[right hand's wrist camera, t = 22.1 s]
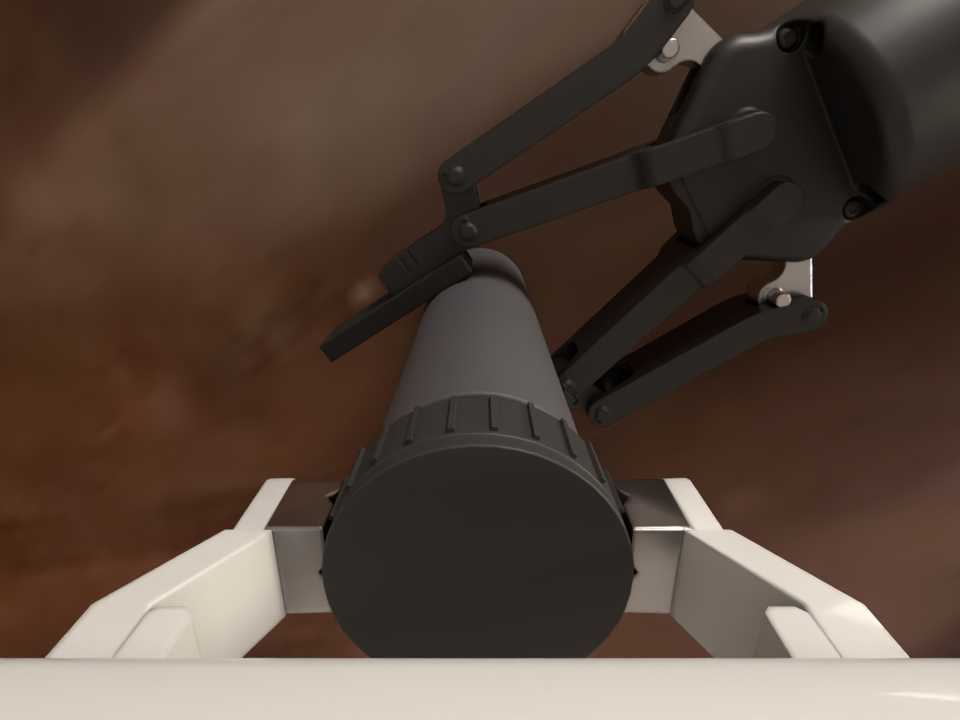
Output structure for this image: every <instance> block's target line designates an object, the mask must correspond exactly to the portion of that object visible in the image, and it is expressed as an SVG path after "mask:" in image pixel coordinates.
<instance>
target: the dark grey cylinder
mask: <svg viewBox="0 0 960 720" xmlns="http://www.w3.org/2000/svg"><path fill="white" fill-rule="evenodd" d="M467 251H468V253H469V255H470V256H471V258H472V259H473V262H472V273H471V274H469V275H467V276H466V277H464V278H463V279H461V280H460V281H458V282H456V283H455V284H453V285H452V286H450V287H449V288H447V289H445V290H444V291H442V292H441V293H439V294H438V295H436V296H435V297H433V298H431V299H430V300H428V303H427V305H426V308H425V311H424V314H423V316H422V319H421V322H420V324H419V327H418V330H417V333H416V335H415V338H414V341H413V344H412V346H411V349H410V352H409V354H408V357H407V360H406V363H405V365H404V368H403V371H402V374H401V376H400V379H399V382H398V384H397V387H396V390H395V393H394V395H393V398H392V401H391V404H390V406H389V409H388V412H387V414H386V417H385V420H384V423H383V425H384V424H386V423H388V424H389V425H390V424H392V423H393V422H395V421H396V420H398V419H399V418H401V417H402V416H404V415H406V414H408V413H410V412H413V410H414V407H415V406H418V405H420V407H424V406H427V405H430V404H433V403H436V402H440V401H445V400H450V399H451V396H455V395H457V398H465V397H490V394H493V395H496V398H500V399H507V400H512V401H516V402H519V403H523V404H528V402H531V403H533V404H534V407H535V408H537V409H539V410H542V411H544V412H546V413H548V414H550V415H551V416H553V417H555V418H557V419H558V420H561V418H563V419H565V420H566V421H567V424H568V427H569V428H571V429H572V430H573V431H575V432H576V433H577V430H576V427H575V424H574V422H573V419H572V416H571V413H570V410H569V407H568V405H567V402H566V399H565V396H564V393H563V390H562V388H561V385H560V382H559V379H558V376H557V373H556V371H555V368H554V365H553V362H552V359H551V356H550V354H549V351H548V348H547V345H546V342H545V339H544V337H543V334H542V331H541V328H540V325H539V322H538V320H537V317H536V314H535V311H534V308H533V306H532V303H531V300H530V297H529V294H528V291H527V289H526V286H525V283H524V280H523V277H522V275H521V273H520V271H519V269H518V268H517V266H516V265H515V264H514V263H513V262H512V261H511V260H510V259H509V258H508V257H506V256H505V255H503V254H501V253H500V252H497V251H495V250H491V249H487V248H473V249H468V250H467ZM383 425H382V427H383ZM381 430H382V428H381ZM380 433H381V431H380ZM577 434H578V433H577Z"/></svg>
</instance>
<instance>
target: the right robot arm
mask: <svg viewBox="0 0 960 720" xmlns="http://www.w3.org/2000/svg"><path fill="white" fill-rule="evenodd" d="M344 480H345V479H304V478H297V479H294V478H271V479H269V480H266V481H265V483H264V484H263V486H262V487H261V489H260V490H259V492H258V493H257V495H256V496H255V498H254V499H253V501H252V502H251V504H250V505H249V507H248V508H247V510H246V511H245V513H244V514H243V516H242V517H241V519H240V520H239V522H238V523H237V525H236V526H235V527H234V529H233V530H224V531H222V532H220V533H218V534H217V535H215V536H213V537H211V538H209V539H208V540H206V541H204V542H202V543H201V544H199V545H197V546H195V547H193V548H192V549H190V550H188V551H186V552H184V553H183V554H181V555H179V556H177V557H175V558H174V559H172V560H170V561H168V562H166V563H165V564H163V565H161V566H159V567H158V568H156V569H154V570H152V571H150V572H149V573H147V574H145V575H143V576H141V577H140V578H138V579H136V580H134V581H132V582H131V583H129V584H127V585H125V586H124V587H122V588H120V589H118V590H116V591H115V592H113V593H111V594H109V595H107V596H106V597H104V598H102V599H100V600H98V601H97V602H95V603H93V604H92V605H91V606H90V607H89V608H88V609H87V610H86V611H85V613H84V614H83V615H82V616H81V617H80V618H79V619H78V621H77V622H76V623H75V624H74V625H73V626H72V627H71V629H70V630H69V631H68V632H67V633H66V634H65V635H64V637H63V638H62V639H61V640H60V641H59V642H58V643H57V645H56V646H55V647H54V648H53V649H52V650H51V651H50V653H49V654H48V655H47V656H46V657H45V658H0V720H960V658H909V656H908V655H907V654H906V653H905V652H904V651H903V649H902V648H901V647H900V646H899V645H898V644H897V642H896V641H895V640H894V639H893V638H892V637H891V635H890V634H889V633H888V632H887V631H886V630H885V628H884V627H883V626H882V625H881V624H880V623H879V621H878V620H877V619H876V618H875V617H874V616H873V614H872V613H871V612H870V611H869V610H868V609H867V607H866V606H865V605H864V604H862V603H860V602H858V601H856V600H855V599H853V598H851V597H849V596H848V595H846V594H844V593H842V592H841V591H839V590H837V589H835V588H833V587H832V586H830V585H828V584H826V583H825V582H823V581H821V580H819V579H817V578H816V577H814V576H812V575H810V574H809V573H807V572H805V571H803V570H801V569H800V568H798V567H796V566H794V565H793V564H791V563H789V562H787V561H786V560H784V559H782V558H780V557H778V556H777V555H775V554H773V553H771V552H770V551H768V550H766V549H764V548H762V547H761V546H759V545H757V544H755V543H754V542H752V541H750V540H748V539H747V538H745V537H743V536H741V535H739V534H738V533H736V532H734V531H732V530H723V529H722V527H721V526H720V524H719V523H718V521H717V520H716V518H715V517H714V515H713V514H712V512H711V511H710V509H709V508H708V506H707V505H706V503H705V502H704V500H703V499H702V497H701V496H700V494H699V493H698V491H697V490H696V488H695V487H694V485H693V484H692V482H691V481H690V480H689V479H687V478H668V479H641V480H612V482H613V484H614V486H615V489H616V491H617V494H618V496H619V499H620V501H621V504H622V506H623V508H624V511H625V512H624V513H621V514H622V519H623V522H624V524H625V527H626V530H627V533H628V536H629V539H630V542H631V546H632V552H633V558H634V578H633V583H632V589H631V594H630V597H629V600H628V603H627V606H626V609H625V611H624V612H639V613H671V616H672V617H673V618H674V619H675V620H676V621H677V622H678V623H679V624H680V625H681V626H682V627H683V628H684V629H685V630H686V631H687V632H688V633H689V634H690V635H691V636H692V637H693V638H694V639H695V640H696V641H697V642H699V643H700V644H701V645H702V646H703V647H704V648H705V649H706V650H707V651H708V652H709V653H710V654H711V655H712V656H713V657H714V658H242V657H243V656H244V655H245V654H246V653H247V652H248V651H250V650H251V649H252V648H253V647H254V646H255V645H256V644H257V643H258V642H259V641H260V640H261V639H262V638H263V637H264V636H265V635H266V634H267V633H268V632H269V631H271V630H272V629H273V628H274V627H275V626H276V625H277V624H278V623H279V622H280V621H281V620H282V619H283V618H284V617H285V616H286V614H285V613H317V612H332V610H331V608H330V606H329V604H328V601H327V597H326V594H325V590H324V586H323V577H322V557H323V549H324V545H325V541H326V537H327V534H328V532H329V529H330V527H331V524H332V522H333V521H331V520H329V516H330V513H331V511H332V509H333V506H334V504H335V501H336V499H337V497H338V494H339V492H340V489H341V487H342V485H343V482H344Z"/></svg>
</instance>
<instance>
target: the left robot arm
mask: <svg viewBox="0 0 960 720" xmlns="http://www.w3.org/2000/svg"><path fill="white" fill-rule="evenodd" d="M693 5H694V0H647V1H646V2H645V3H644V4H643V5H641V6H640V7H639V9H638V10H637V11H636V13H635V14H634V15H633V17H632V18H631V20H630V21H629V22H628V24H627V25H626V26H625V28H624V29H623V30H622V32H621V33H620V34H619V36H618V37H617V38H616V40H615V41H614V42H613V44H612V45H611V46H610V47H608V48H607V49H606V50H604V51H603V52H601V53H600V54H598V55H597V56H595V57H594V58H593V59H591V60H590V61H588V62H587V63H585V64H584V65H583V66H581V67H580V68H578V69H577V70H575V71H574V72H572V73H571V74H570V75H568V76H567V77H565V78H564V79H562V80H561V81H560V82H558V83H557V84H555V85H554V86H552V87H551V88H549V89H548V90H547V91H545V92H544V93H542V94H541V95H539V96H538V97H537V98H535V99H534V100H532V101H531V102H529V103H528V104H526V105H525V106H524V107H522V108H521V109H519V110H518V111H516V112H515V113H514V114H512V115H511V116H509V117H508V118H506V119H505V120H503V121H502V122H501V123H499V124H498V125H496V126H495V127H493V128H492V129H491V130H489V131H488V132H486V133H485V134H483V135H482V136H481V137H479V138H478V139H476V140H475V141H473V142H472V143H470V144H469V145H468V146H466V147H465V148H463V149H462V150H460V151H459V152H458V153H456V154H455V155H453V156H452V157H450V158H449V159H447V160H446V161H445V162H444V163H443V164H442V165H441V167H440V169H439V172H438V180H439V183H440V185H441V189H442V193H443V197H444V201H445V205H446V218H445V220H444V222H443V223H442V224H441V225H440V226H438V227H437V228H435V229H434V230H432V231H431V232H429V233H428V234H426V235H425V236H423V237H422V238H420V239H419V240H417V241H416V242H414V243H413V244H411V245H410V246H408V247H407V248H405V249H404V250H402V251H401V252H399V253H398V254H396V255H395V256H393V257H392V258H391V259H390V260H389V261H388V262H387V263H386V265H385V266H384V268H383V269H382V271H381V272H380V274H379V275H378V276H379V278H380V279H381V281H382V282H383V283H384V285H385V286H386V288H387V289H388V290H389V292H388V293H387V294H385V295H384V296H382V297H381V298H379V299H378V300H376V301H375V302H373V303H372V304H370V305H369V306H367V307H366V308H364V309H362V310H361V311H359V312H358V313H356V314H355V315H353V316H352V317H350V318H349V319H347V320H346V321H344V322H343V323H341V324H340V325H338V326H337V327H336V328H335V329H334V330H333V331H332V333H331V334H330V335H329V336H328V337H327V339H326V340H325V341H324V342H323V343H322V344H321V346H320V348H321V350H322V351H323V352H324V353H325V355H326V356H327V357H328V358H329V360H330V361H331V362H333V361H334V360H336V359H337V358H339V357H341V356H342V355H344V354H345V353H347V352H348V351H350V350H352V349H353V348H355V347H356V346H358V345H359V344H361V343H363V342H364V341H366V340H367V339H369V338H370V337H372V336H373V335H375V334H377V333H378V332H380V331H381V330H383V329H384V328H386V327H388V326H389V325H391V324H392V323H394V322H395V321H397V320H399V319H400V318H402V317H403V316H405V315H406V314H408V313H409V312H411V311H413V310H414V309H416V308H417V307H419V306H420V305H422V304H424V303H425V302H427V301H428V300H430V299H431V298H433V297H435V296H436V295H438V294H439V293H441V292H442V291H444V290H445V289H447V288H449V287H450V286H452V285H453V284H455V283H456V282H458V281H460V280H461V279H463V278H464V277H466V276H467V275H469V274H471V273H472V262H473V259H472V258H471V256H470V255H469V253H468V251H467V250H468V249H469V248H473V247H476V246H479V245H482V244H485V243H487V242H490V241H493V240H496V239H499V238H502V237H505V236H508V235H510V234H513V233H516V232H519V231H522V230H525V229H528V228H531V227H533V226H536V225H539V224H542V223H545V222H548V221H551V220H554V219H556V218H559V217H562V216H565V215H568V214H571V213H574V212H577V211H579V210H582V209H585V208H588V207H591V206H594V205H597V204H599V203H602V202H605V201H608V200H611V199H614V198H617V197H620V196H622V195H625V194H628V193H631V192H634V191H637V190H640V189H645V188H650V187H654V186H655V187H656V189H657V190H658V191H659V193H660V194H661V195H662V196H663V197H664V198H665V199H666V200H667V201H668V202H669V203H670V205H671V209H672V215H673V220H674V225H675V227H676V229H677V231H678V232H676V233H675V234H674V235H673V236H672V237H671V238H670V239H669V240H668V241H667V242H666V243H665V244H664V245H663V246H662V247H661V249H660V251H659V254H658V256H657V257H656V258H655V259H654V260H653V261H652V262H651V263H649V264H648V265H647V266H646V267H645V268H644V269H643V270H642V271H641V272H640V273H639V274H638V275H637V276H636V277H635V278H633V279H632V280H631V281H630V282H629V283H628V284H627V285H626V286H625V287H624V288H623V289H622V290H621V291H620V292H619V293H618V294H616V295H615V296H614V297H613V298H612V299H611V300H610V301H609V302H608V303H607V304H606V305H605V306H604V307H603V308H602V309H600V310H599V311H598V312H597V313H596V314H595V315H594V316H593V317H592V318H591V319H590V320H589V321H588V322H587V323H586V324H584V325H583V326H582V327H581V328H580V329H579V330H578V331H577V332H576V333H575V334H574V335H573V336H572V337H571V338H570V339H568V340H567V341H566V342H565V343H564V344H563V345H562V346H561V347H560V348H559V349H558V350H557V351H556V352H555V353H554V354H552V355H551V359H552V362H553V365H554V368H555V371H556V373H557V376H558V379H559V382H560V385H561V388H562V390H563V393H564V396H565V399H566V402H567V405H568V407H569V410H571V409H576V408H577V409H578V410H580V411H581V412H582V413H584V414H585V415H587V416H588V417H589V420H590V421H591V422H592V423H593V424H594V425H596V426H601V427H605V426H607V425H610V424H612V423H614V422H616V421H618V420H619V419H621V418H623V417H625V416H627V415H629V414H630V413H632V412H634V411H636V410H638V409H640V408H642V407H643V406H645V405H647V404H649V403H651V402H653V401H654V400H656V399H658V398H660V397H662V396H664V395H666V394H667V393H669V392H671V391H673V390H675V389H677V388H678V387H680V386H682V385H684V384H686V383H688V382H690V381H691V380H693V379H695V378H697V377H699V376H701V375H702V374H704V373H706V372H708V371H710V370H712V369H714V368H715V367H717V366H719V365H721V364H723V363H725V362H726V361H728V360H730V359H732V358H734V357H736V356H738V355H739V354H741V353H743V352H745V351H747V350H749V349H750V348H752V347H754V346H756V345H758V344H760V343H762V342H763V341H765V340H767V339H771V338H776V337H781V336H786V335H791V334H796V333H801V332H806V331H810V330H814V329H816V328H818V327H819V326H821V325H822V324H823V323H824V321H825V320H826V318H827V314H828V311H827V307H826V305H825V304H824V303H823V302H821V301H818V300H816V299H813V298H812V258H814V257H815V256H817V255H818V254H820V253H821V252H822V251H823V250H824V249H825V248H826V247H827V246H828V244H829V243H830V242H831V240H832V239H833V238H834V237H835V235H836V234H837V233H838V232H839V231H840V230H841V229H842V228H843V227H844V226H846V225H847V224H848V223H850V222H852V221H854V220H856V219H858V218H860V217H862V216H864V215H867V214H869V213H871V212H873V211H876V210H878V209H880V208H882V207H884V206H886V205H888V204H889V203H891V202H893V201H895V200H896V199H898V198H900V197H902V196H903V195H905V194H907V193H909V192H910V191H912V190H914V189H916V188H918V187H919V186H921V185H923V184H925V183H926V182H928V181H930V180H932V179H933V178H935V177H937V176H939V175H940V174H942V173H944V172H946V171H947V170H949V169H951V168H953V167H954V166H956V165H958V164H960V0H805V1H804V2H802V3H801V4H799V5H798V6H796V7H795V8H793V9H792V10H790V11H789V12H787V13H786V14H784V15H783V16H781V17H780V18H778V19H777V20H775V21H773V22H772V23H770V24H769V25H767V26H766V27H764V28H763V29H761V30H759V31H757V32H752V33H739V34H733V35H730V36H727V37H725V38H723V39H722V38H721V37H720V36H719V35H718V34H717V33H716V32H715V31H714V30H713V29H712V28H711V27H710V26H709V25H708V24H707V23H706V22H705V21H704V20H703V19H702V18H701V17H700V16H699V15H698V14H697V13H696V12H695V11H694V10H693V9H692V8H693ZM676 65H684V66H687V67H688V68H690V71H689V73H688V75H687V77H686V79H685V81H684V83H683V85H682V87H681V90H680V92H679V94H678V96H677V98H676V100H675V102H674V104H673V107H672V109H671V111H670V113H669V115H668V117H667V119H666V121H665V123H664V126H663V128H662V130H661V132H660V134H659V136H658V138H657V139H655V140H653V141H650V142H647V143H644V144H641V145H639V146H636V147H633V148H630V149H627V150H625V151H622V152H620V153H618V154H616V155H613V156H611V157H608V158H605V159H602V160H600V161H597V162H594V163H591V164H588V165H586V166H583V167H580V168H577V169H574V170H572V171H569V172H566V173H563V174H560V175H558V176H555V177H552V178H549V179H546V180H544V181H541V182H538V183H535V184H532V185H530V186H527V187H524V188H521V189H518V190H516V191H513V192H510V193H507V194H505V195H502V196H499V197H496V198H493V199H491V200H488V201H485V202H482V203H480V202H479V197H478V193H477V188H476V184H477V183H478V182H480V181H481V180H483V179H484V178H486V177H487V176H489V175H490V174H492V173H493V172H495V171H496V170H498V169H499V168H501V167H502V166H504V165H505V164H507V163H508V162H509V161H511V160H512V159H514V158H515V157H517V156H518V155H520V154H521V153H523V152H524V151H526V150H527V149H529V148H530V147H532V146H533V145H535V144H536V143H538V142H539V141H540V140H542V139H543V138H545V137H546V136H548V135H549V134H551V133H552V132H554V131H555V130H557V129H558V128H560V127H561V126H563V125H564V124H566V123H567V122H569V121H570V120H572V119H573V118H574V117H576V116H577V115H579V114H580V113H582V112H583V111H585V110H586V109H588V108H589V107H591V106H592V105H594V104H595V103H597V102H598V101H600V100H601V99H603V98H604V97H606V96H607V95H608V94H610V93H611V92H613V91H614V90H616V89H617V88H619V87H620V86H622V85H623V84H625V83H626V82H628V81H629V80H630V79H632V78H633V77H634V76H636V75H637V74H638V73H640V72H641V71H642V72H643V73H645V74H646V75H649V76H657V75H660V74H662V73H664V72H667V71H669V70H671V69H672V68H673V67H674V66H676ZM741 259H744V260H761V261H773V265H772V267H771V269H770V270H769V272H767V273H766V274H765V275H763V276H761V277H759V278H757V279H755V280H753V281H751V282H749V284H748V285H747V290H748V293H745V294H741V295H737V296H735V297H732V298H730V299H727V300H725V301H723V302H721V303H719V304H717V305H715V306H714V307H712V308H710V309H708V310H707V311H705V312H703V313H701V314H699V315H698V316H696V317H694V318H692V319H691V320H689V321H687V322H685V323H684V324H682V325H680V326H678V327H676V328H675V329H673V330H671V331H669V332H668V333H666V334H664V335H662V336H661V337H659V338H657V339H655V340H654V341H652V342H650V343H648V344H646V345H645V346H643V347H641V348H639V349H638V350H636V351H634V352H632V353H631V354H629V355H627V356H625V357H623V356H624V355H626V354H627V353H628V352H629V351H630V350H631V349H632V348H633V347H634V346H636V345H637V344H638V343H639V342H640V341H641V340H642V339H643V338H645V337H646V336H647V335H648V334H649V333H650V332H651V331H652V330H653V329H655V328H656V327H657V326H658V325H659V324H660V323H661V322H662V321H664V320H665V319H666V318H667V317H668V316H669V315H670V314H671V313H672V312H674V311H675V310H676V309H677V308H678V307H679V306H680V305H681V304H683V303H684V302H685V301H686V300H687V299H688V298H689V297H690V296H691V295H693V294H694V293H695V292H696V291H697V290H699V289H701V288H703V287H707V286H709V285H711V284H713V283H714V282H716V281H717V280H718V279H719V278H721V277H722V276H723V275H724V274H725V273H726V272H727V271H728V270H730V269H731V268H732V267H733V266H734V265H735V264H736V263H737V262H739V261H740V260H741ZM622 357H623V358H622ZM621 358H622V359H621Z"/></svg>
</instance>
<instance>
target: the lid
mask: <svg viewBox="0 0 960 720" xmlns="http://www.w3.org/2000/svg"><path fill="white" fill-rule="evenodd" d="M624 512H625V511H624V508H623V506H622V504H621V501H620V499H619V496H618V494H617V491H616V489H615V486H614V484H613V482H612V479H611V477H610V474H609V472H608V469H607V468H605V469H602V467H601V465H600V463H599V461H598V458H597V456H596V453H595V451H594V448H593V445H592V444H591V442H590V441H587V442H585V441H584V440H583V439H582V438H581V437H580V436H579V435H578V434H577V433H576V432H575V431H573V430H572V429H571V428H569V427H568V424H567V421H566V420H565V419H563V418H561V420H558V419H557V418H555V417H553V416H551V415H550V414H548V413H546V412H544V411H542V410H539V409H537V408H535V407H534V404H533V403H531V402H528V404H523V403H519V402H516V401H512V400H507V399H500V398H496V395H493V394H490V397H465V398H457V395H455V396H451V399H450V400H445V401H440V402H436V403H433V404H430V405H427V406H424V407H420V405H418V406H415V407H414V410H413V412H410V413H408V414H406V415H404V416H402V417H401V418H399V419H398V420H396V421H395V422H393V423H392V424H390V425H389V424H388V423H386V424H384V425H383V427H382V430H381V433H380V434H379V435H377V436H376V437H375V438H374V440H373V441H372V442H371V443H370V444H369V445H368V447H367V448H364V447H362V448H361V449H360V450H359V453H358V455H357V458H356V460H355V463H354V465H353V467H352V470H351V472H350V475H346V478H345V480H344V482H343V485H342V487H341V489H340V492H339V494H338V497H337V499H336V501H335V504H334V506H333V509H332V511H331V513H330V516H329V520H331V521H333V522H332V524H331V527H330V529H329V532H328V534H327V537H326V541H325V545H324V549H323V557H322V577H323V586H324V590H325V594H326V597H327V601H328V604H329V606H330V608H331V610H332V613H333V615H334V617H335V619H336V620H337V622H338V623H339V625H340V627H341V628H342V630H343V631H344V632H345V633H346V635H347V636H348V637H349V638H350V639H351V641H352V642H353V643H354V644H355V645H356V646H357V647H358V648H359V649H360V650H362V651H363V652H364V653H365V654H366V655H367V656H369V657H370V658H586V657H587V656H589V655H590V654H591V653H592V652H593V651H595V650H596V649H597V648H598V647H599V646H600V645H601V644H602V643H603V642H604V641H605V640H606V638H607V637H608V636H609V635H610V634H611V632H612V631H613V629H614V628H615V627H616V625H617V624H618V622H619V620H620V618H621V616H622V615H623V613H624V611H625V609H626V606H627V603H628V600H629V597H630V594H631V589H632V583H633V578H634V558H633V552H632V546H631V542H630V539H629V536H628V533H627V530H626V527H625V524H624V522H623V519H622V514H621V513H624Z"/></svg>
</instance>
